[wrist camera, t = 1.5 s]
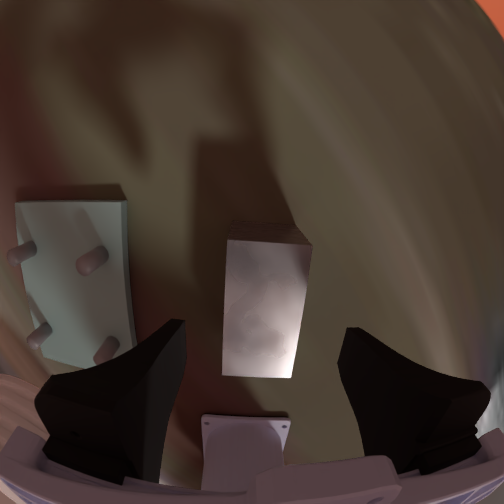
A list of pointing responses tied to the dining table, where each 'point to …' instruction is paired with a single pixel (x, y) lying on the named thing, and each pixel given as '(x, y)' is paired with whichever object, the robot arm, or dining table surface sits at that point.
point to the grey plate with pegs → (76, 278)
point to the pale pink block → (263, 298)
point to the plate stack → (18, 415)
